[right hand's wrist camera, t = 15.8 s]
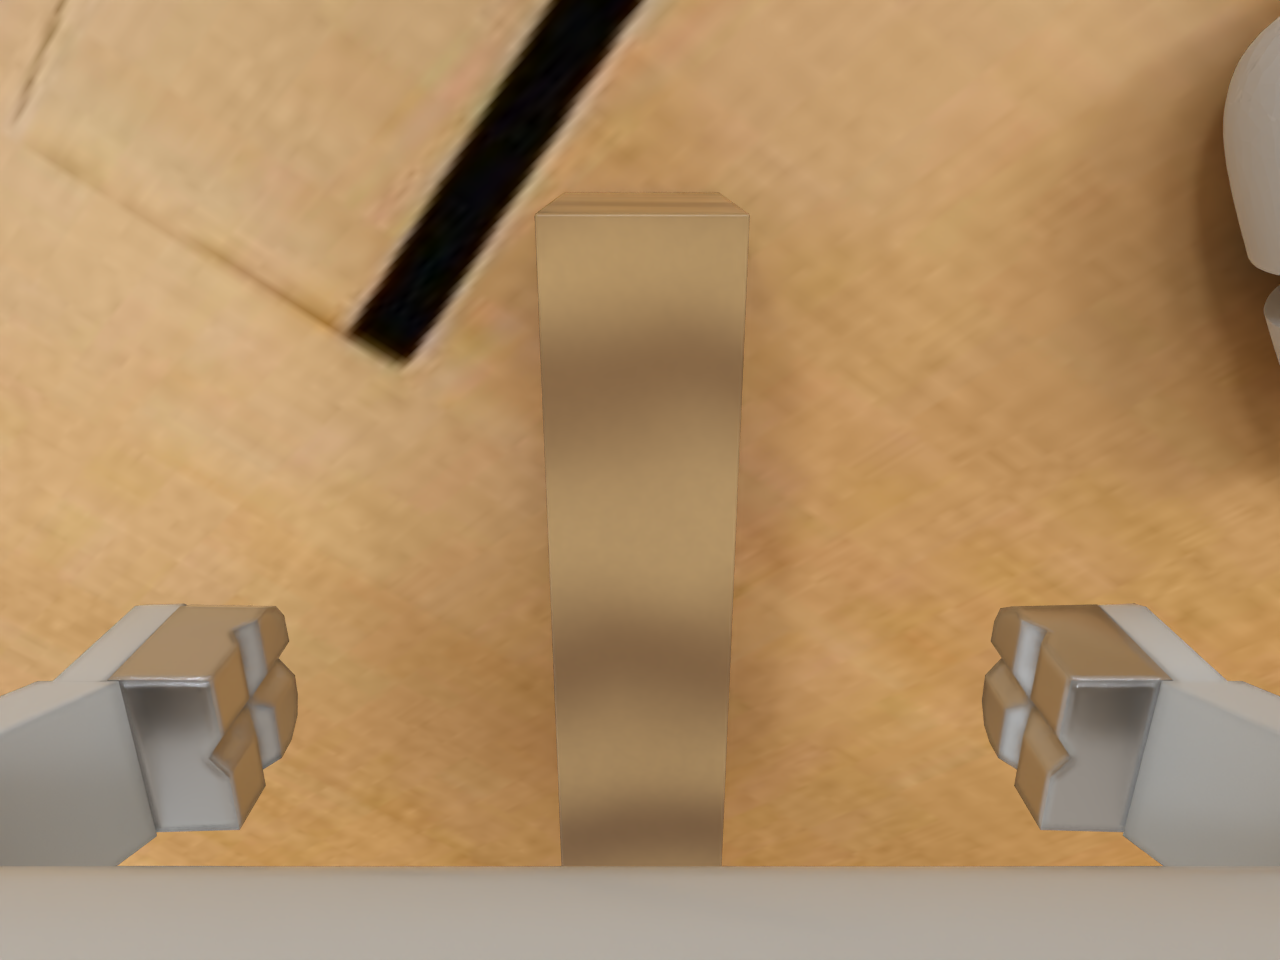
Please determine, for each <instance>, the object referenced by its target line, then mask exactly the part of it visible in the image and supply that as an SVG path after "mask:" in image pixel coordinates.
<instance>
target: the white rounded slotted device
mask: <svg viewBox="0 0 1280 960" xmlns="http://www.w3.org/2000/svg"><path fill="white" fill-rule="evenodd" d="M1223 141H1224V150H1225V159H1226V166H1227V172H1228V177H1229V182H1230V187H1231V192H1232V197H1233V201H1234V205H1235V209H1236V213H1237V217H1238V221H1239V225H1240V229H1241V233H1242V236H1243V240H1244V244H1245V248H1246V251H1247V255H1248V258H1249V260H1250V261H1251V263H1252V264H1253V265H1254V266H1256V267H1257V268H1259V269H1261V270H1263V271H1265V272H1268V273H1272V274H1275V275H1280V16H1279V17H1278V18H1277V19H1276V20H1275V21H1273V22H1272V23H1271V24H1270V25H1269V26H1268V27H1267V28H1265V29H1264V30H1263V31H1262V32H1261V33H1260V34H1259V35H1258V36H1257V37H1256V39H1255V40H1254V41H1253V42H1252V43H1251V44H1250V46H1249V47H1248V48H1247V50H1246V51H1245V53H1244V54H1243V56H1242V57H1241V59H1240V60H1239V62H1238V64H1237V66H1236V68H1235V71H1234V73H1233V76H1232V79H1231V81H1230V85H1229V88H1228V93H1227V98H1226V103H1225V108H1224V117H1223ZM1264 315H1265V319H1266V322H1267V326H1268V329H1269V332H1270V336H1271V339H1272V343H1273V346H1274V349H1275V352H1276V355H1277V358H1278V361H1279V365H1280V285H1278V286H1277V287H1276V288H1275V289H1274V290H1273V291H1272V292H1271V293H1270V295H1269V296H1268V298H1267V300H1266V302H1265V305H1264Z"/></svg>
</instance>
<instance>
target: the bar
mask: <svg viewBox="0 0 1280 960" xmlns="http://www.w3.org/2000/svg"><path fill="white" fill-rule="evenodd" d="M749 220H750V216H749V214H748V213H747V212H745V211H744V210H743V209H741V208H740V207H738V206H737V205H736V204H734V203H733V202H731V201H730V200H729V199H727V198H726V197H724V196H723V195H721V194H720V193H563V194H562V195H560V196H559V197H558V198H556V199H555V200H554V201H552V202H551V203H550V204H548V205H547V206H546V207H544V208H543V209H542V210H540V211H539V212H537V213H536V214H535V236H536V260H537V284H538V309H539V333H540V357H541V381H542V405H543V429H544V453H545V477H546V501H547V525H548V549H549V573H550V598H551V622H552V646H553V670H554V694H555V718H556V742H557V766H558V790H559V814H560V838H561V862H562V866H722V843H723V820H724V797H725V774H726V751H727V728H728V705H729V682H730V659H731V636H732V613H733V590H734V566H735V543H736V520H737V497H738V474H739V451H740V428H741V405H742V382H743V359H744V336H745V313H746V289H747V266H748V243H749Z"/></svg>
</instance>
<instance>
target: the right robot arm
mask: <svg viewBox="0 0 1280 960" xmlns="http://www.w3.org/2000/svg"><path fill="white" fill-rule="evenodd" d="M288 642H289V638H288V633H287V628H286V623H285V618H284V615H283V614H282V613H281V612H280V610H279V609H278V608H277V607H276V606H236V605H186V604H155V605H140V606H135V607H134V608H132V609H131V610H130V611H129V612H128V613H127V614H126V615H125V616H124V617H123V618H121V619H120V620H119V621H118V622H117V623H116V624H115V625H114V626H113V627H112V628H110V629H109V630H108V631H107V632H106V633H105V634H104V635H103V636H102V637H101V638H99V639H98V640H97V641H96V642H95V643H94V644H93V645H92V646H91V647H90V648H88V649H87V650H86V651H85V652H84V653H83V654H82V655H81V656H80V657H79V658H77V659H76V660H75V661H74V662H73V663H72V664H71V665H70V666H69V667H68V668H66V669H65V670H64V671H63V672H62V673H61V674H60V675H59V676H58V677H57V678H55V679H54V680H53V681H37V682H35V683H32V684H30V685H27V686H25V687H22V688H20V689H17V690H15V691H12V692H10V693H7V694H5V695H2V696H0V960H1280V696H1278V695H1275V694H1273V693H1270V692H1268V691H1265V690H1263V689H1260V688H1258V687H1255V686H1253V685H1250V684H1248V683H1246V682H1243V681H1227V680H1226V679H1225V678H1223V677H1222V676H1221V675H1220V674H1219V673H1218V672H1217V671H1216V670H1215V669H1214V668H1213V667H1211V666H1210V665H1209V664H1208V663H1207V662H1206V661H1205V660H1204V659H1203V658H1202V657H1200V656H1199V655H1198V654H1197V653H1196V652H1195V651H1194V650H1193V649H1192V648H1191V647H1189V646H1188V645H1187V644H1186V643H1185V642H1184V641H1183V640H1182V639H1181V638H1180V637H1179V636H1177V635H1176V634H1175V633H1174V632H1173V631H1172V630H1171V629H1170V628H1169V627H1168V626H1166V625H1165V624H1164V623H1163V622H1162V621H1161V620H1160V619H1159V618H1158V617H1157V616H1156V615H1154V614H1153V613H1152V612H1151V611H1150V610H1149V609H1148V608H1147V607H1144V606H1141V605H1138V604H1111V605H1055V606H1014V607H1006V608H1000V610H999V613H998V615H997V617H996V619H995V621H994V626H993V632H992V637H991V642H992V644H993V645H994V647H995V649H996V650H997V652H998V653H999V655H1000V656H1001V659H1000V660H999V661H998V662H997V664H996V665H995V666H994V667H993V668H992V669H991V670H990V671H989V672H988V673H987V674H986V675H985V681H984V689H983V696H982V707H983V718H984V726H985V729H986V732H987V735H988V739H989V742H990V744H991V746H992V747H993V749H994V751H995V753H996V755H997V756H998V758H999V759H1001V760H1003V761H1004V762H1006V763H1007V764H1009V765H1011V766H1012V767H1014V768H1015V769H1017V774H1016V779H1015V785H1014V786H1015V788H1016V789H1017V791H1018V793H1019V794H1020V796H1021V798H1022V799H1023V801H1024V803H1025V804H1026V806H1027V808H1028V810H1029V811H1030V813H1031V815H1032V816H1033V818H1034V820H1035V821H1036V823H1037V825H1038V826H1039V828H1040V830H1066V831H1103V832H1124V833H1123V836H1124V837H1125V838H1127V839H1128V840H1129V841H1131V842H1132V843H1133V844H1135V845H1136V846H1138V847H1139V848H1140V849H1142V850H1143V851H1144V852H1146V853H1147V854H1148V855H1150V856H1151V857H1152V858H1154V859H1155V860H1156V861H1158V862H1159V863H1160V864H1162V865H1163V866H117V865H119V864H120V863H121V862H123V861H124V860H125V859H127V858H128V857H129V856H131V855H132V854H133V853H135V852H136V851H137V850H139V849H140V848H141V847H143V846H144V845H146V844H147V843H148V842H150V841H151V840H152V839H154V838H155V837H156V836H157V833H156V832H177V831H212V830H240V828H241V827H242V825H243V823H244V822H245V820H246V818H247V816H248V815H249V813H250V811H251V810H252V808H253V806H254V805H255V803H256V801H257V799H258V798H259V796H260V794H261V793H262V791H263V789H264V788H265V786H266V785H265V779H264V773H263V769H265V768H266V767H268V766H269V765H271V764H273V763H274V762H276V761H277V760H279V759H281V758H282V756H283V755H284V753H285V751H286V749H287V747H288V745H289V744H290V742H291V740H292V736H293V731H294V727H295V723H296V719H297V707H298V693H297V687H296V680H295V675H294V674H293V673H292V672H291V671H290V670H289V669H288V668H287V667H286V666H285V665H284V664H283V662H282V661H281V660H280V659H279V656H280V655H281V653H282V652H283V650H284V649H285V647H286V645H287V644H288Z"/></svg>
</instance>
